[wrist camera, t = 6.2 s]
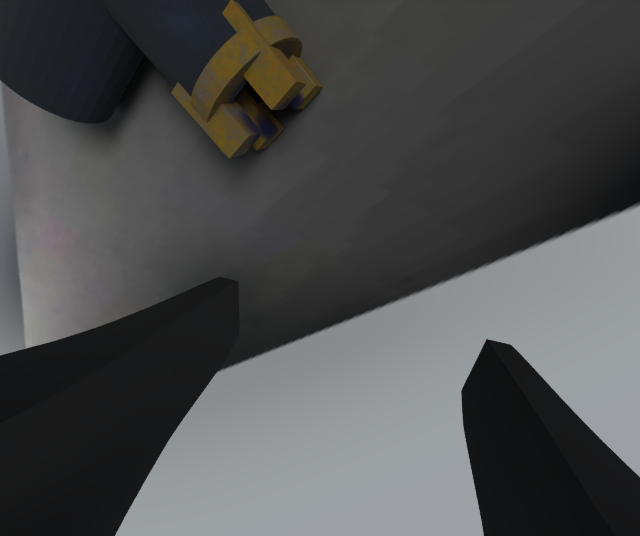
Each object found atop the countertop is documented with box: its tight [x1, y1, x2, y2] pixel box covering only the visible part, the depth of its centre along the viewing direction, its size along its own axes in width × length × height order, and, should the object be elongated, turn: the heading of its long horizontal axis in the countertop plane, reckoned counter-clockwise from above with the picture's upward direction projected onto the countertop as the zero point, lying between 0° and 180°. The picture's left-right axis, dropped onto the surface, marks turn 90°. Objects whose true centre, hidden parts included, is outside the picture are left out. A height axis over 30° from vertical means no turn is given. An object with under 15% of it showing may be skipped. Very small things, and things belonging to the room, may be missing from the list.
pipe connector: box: [0, 0, 323, 159], centre depth 13 cm, size 12×5×15 cm
